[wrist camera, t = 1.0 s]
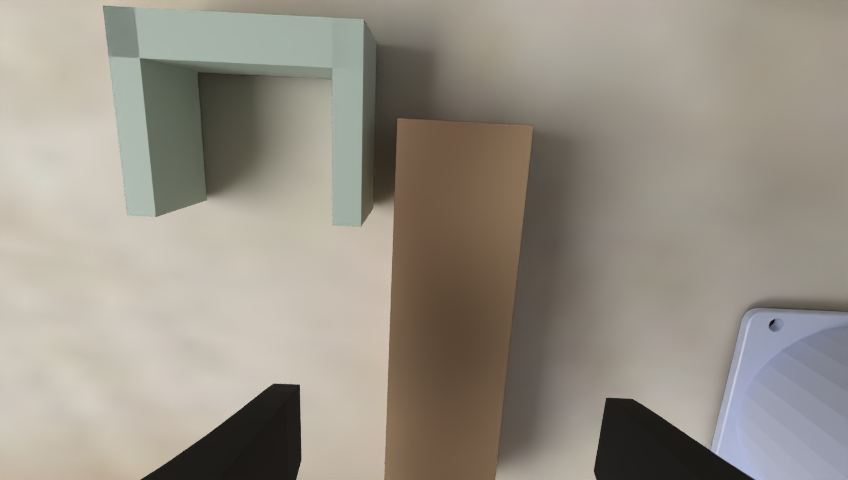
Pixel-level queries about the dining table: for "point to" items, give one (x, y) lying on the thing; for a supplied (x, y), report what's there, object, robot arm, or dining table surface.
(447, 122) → the slat
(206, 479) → the robot arm
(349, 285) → the dining table surface
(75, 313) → the dining table surface
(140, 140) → the sliding cap
